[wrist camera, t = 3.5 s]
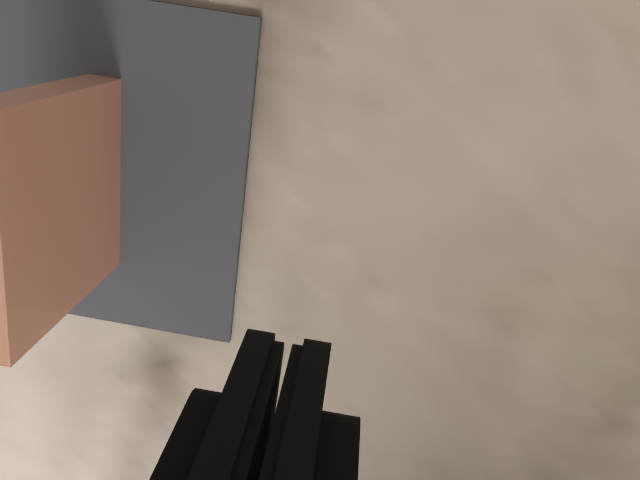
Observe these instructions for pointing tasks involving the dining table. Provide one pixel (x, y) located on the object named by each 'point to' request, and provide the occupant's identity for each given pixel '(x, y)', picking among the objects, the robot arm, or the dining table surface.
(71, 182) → the tile
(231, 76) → the mat
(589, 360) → the dining table surface
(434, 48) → the dining table surface
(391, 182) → the dining table surface
